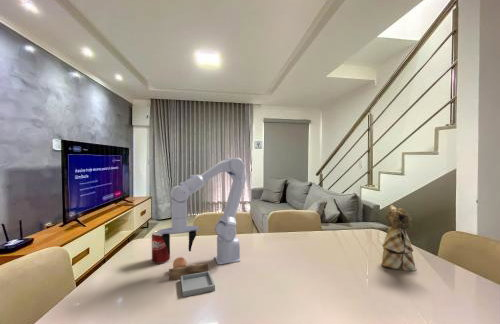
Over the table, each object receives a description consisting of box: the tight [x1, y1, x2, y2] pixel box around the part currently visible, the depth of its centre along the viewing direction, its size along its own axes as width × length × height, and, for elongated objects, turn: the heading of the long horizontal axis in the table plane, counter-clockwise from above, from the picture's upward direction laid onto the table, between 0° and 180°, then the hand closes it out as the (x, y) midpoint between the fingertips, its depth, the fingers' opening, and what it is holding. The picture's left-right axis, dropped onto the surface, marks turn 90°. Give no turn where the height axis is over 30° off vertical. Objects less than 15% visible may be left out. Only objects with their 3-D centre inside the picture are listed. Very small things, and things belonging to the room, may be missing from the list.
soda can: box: [151, 230, 171, 265], centre depth 96 cm, size 7×7×12 cm
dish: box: [180, 270, 216, 298], centre depth 77 cm, size 10×10×2 cm
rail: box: [168, 262, 209, 281], centre depth 83 cm, size 14×1×4 cm, turn 111°
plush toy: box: [381, 204, 417, 272], centre depth 92 cm, size 14×14×25 cm
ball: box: [172, 256, 187, 268], centre depth 87 cm, size 5×5×5 cm
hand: (179, 251), depth 87 cm, fingers open, 7 cm apart
